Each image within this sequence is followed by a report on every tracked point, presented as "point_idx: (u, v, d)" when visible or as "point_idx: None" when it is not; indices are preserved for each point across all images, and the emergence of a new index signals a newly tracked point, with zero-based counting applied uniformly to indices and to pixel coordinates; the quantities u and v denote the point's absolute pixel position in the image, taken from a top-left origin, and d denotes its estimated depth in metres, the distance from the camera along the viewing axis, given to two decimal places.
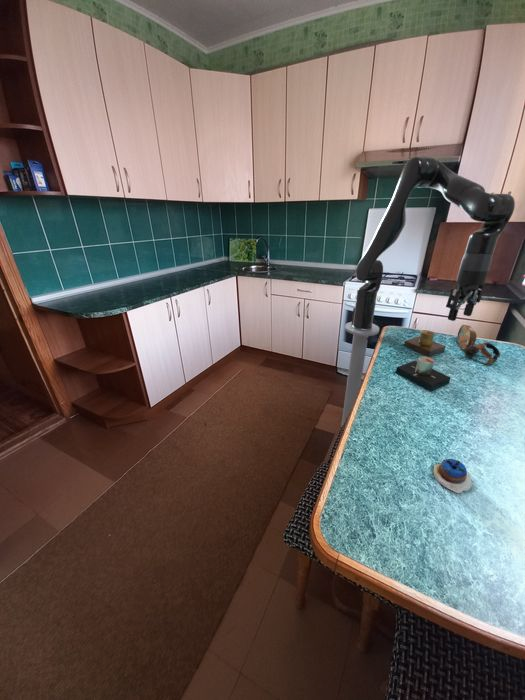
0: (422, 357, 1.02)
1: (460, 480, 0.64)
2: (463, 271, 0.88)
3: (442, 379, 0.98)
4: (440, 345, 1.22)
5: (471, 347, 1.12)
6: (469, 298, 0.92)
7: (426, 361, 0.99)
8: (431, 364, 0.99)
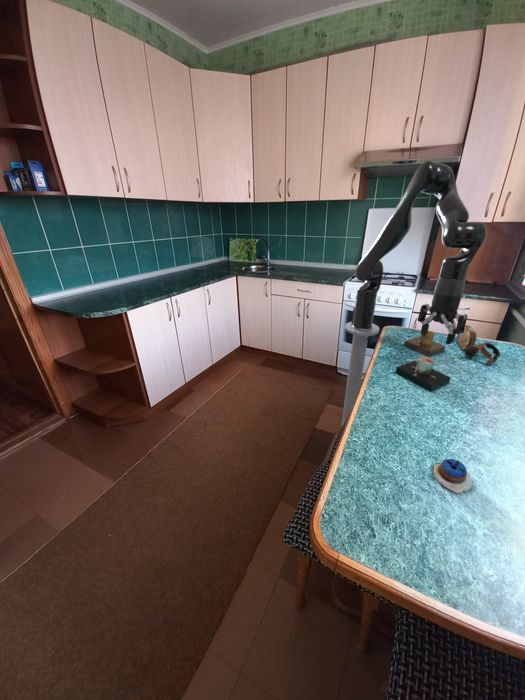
0: (422, 357, 1.02)
1: (460, 480, 0.64)
2: None
3: (442, 379, 0.98)
4: (440, 345, 1.22)
5: (471, 347, 1.12)
6: (439, 321, 0.94)
7: (426, 361, 0.99)
8: (431, 364, 0.99)
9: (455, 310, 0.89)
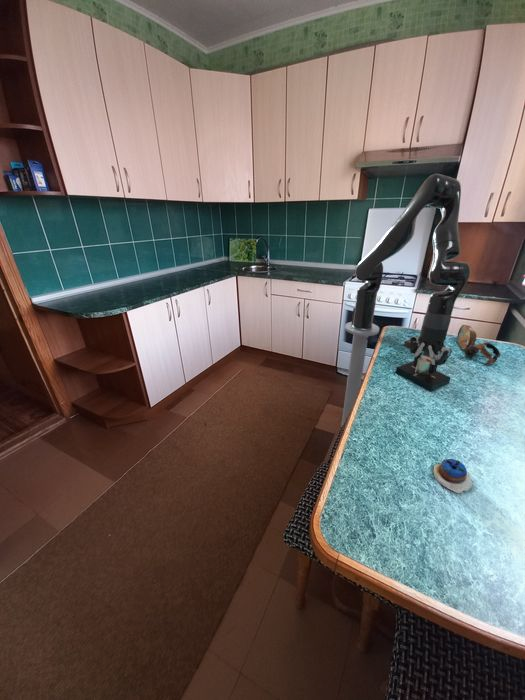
0: (422, 357, 1.02)
1: (460, 480, 0.64)
2: None
3: (442, 379, 0.98)
4: None
5: (471, 347, 1.12)
6: (427, 351, 0.98)
7: (426, 361, 0.99)
8: None
9: (442, 342, 0.94)
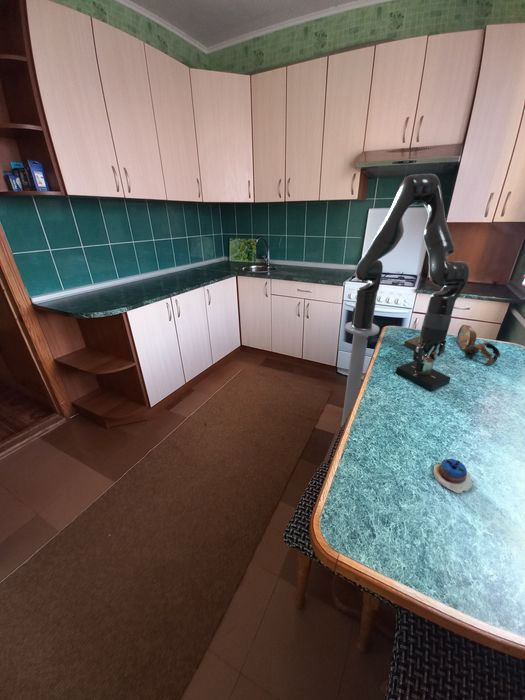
0: None
1: (460, 480, 0.64)
2: (425, 328, 0.94)
3: (442, 379, 0.98)
4: None
5: (471, 347, 1.12)
6: (432, 351, 0.98)
7: (431, 360, 1.00)
8: None
9: None
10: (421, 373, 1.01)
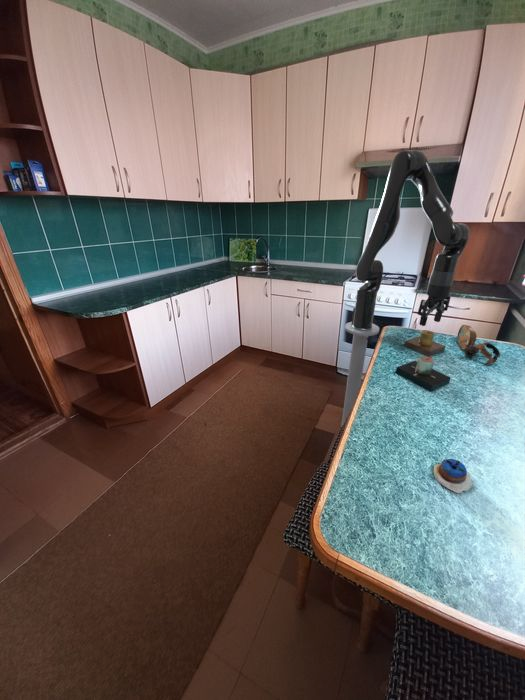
0: (422, 360, 1.00)
1: (460, 480, 0.64)
2: (431, 285, 1.07)
3: (442, 379, 0.98)
4: (440, 345, 1.22)
5: (471, 347, 1.12)
6: (437, 307, 1.10)
7: (431, 360, 1.00)
8: None
9: None
10: (421, 373, 1.01)
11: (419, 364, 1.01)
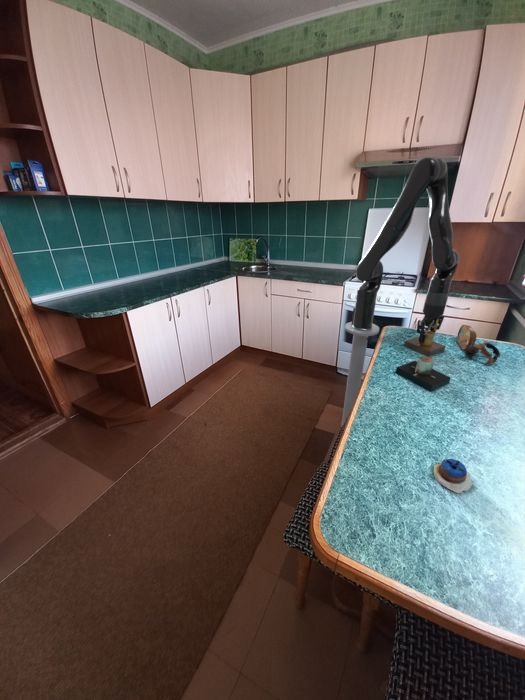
0: (422, 360, 1.00)
1: (460, 480, 0.64)
2: (427, 305, 1.15)
3: (442, 379, 0.98)
4: (440, 345, 1.22)
5: (471, 347, 1.12)
6: (432, 325, 1.19)
7: (431, 360, 1.00)
8: None
9: None
10: (421, 373, 1.01)
11: (419, 364, 1.01)
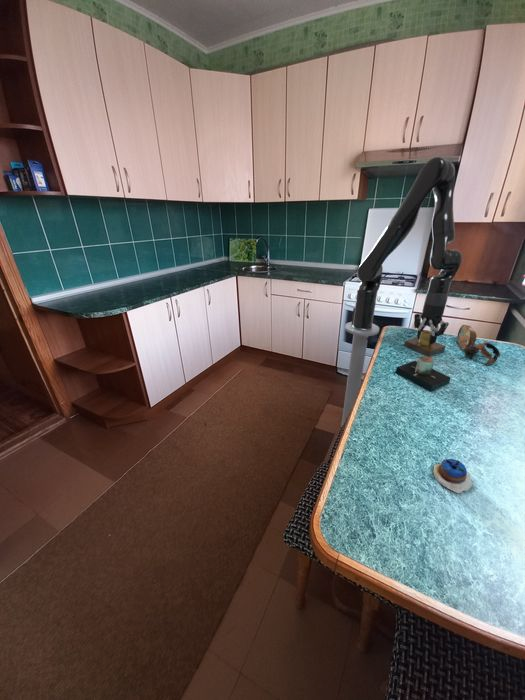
0: (422, 360, 1.00)
1: (460, 480, 0.64)
2: None
3: (442, 379, 0.98)
4: (440, 345, 1.22)
5: (471, 347, 1.12)
6: (428, 325, 1.19)
7: (431, 360, 1.00)
8: None
9: (440, 317, 1.15)
10: (421, 373, 1.01)
11: (419, 364, 1.01)
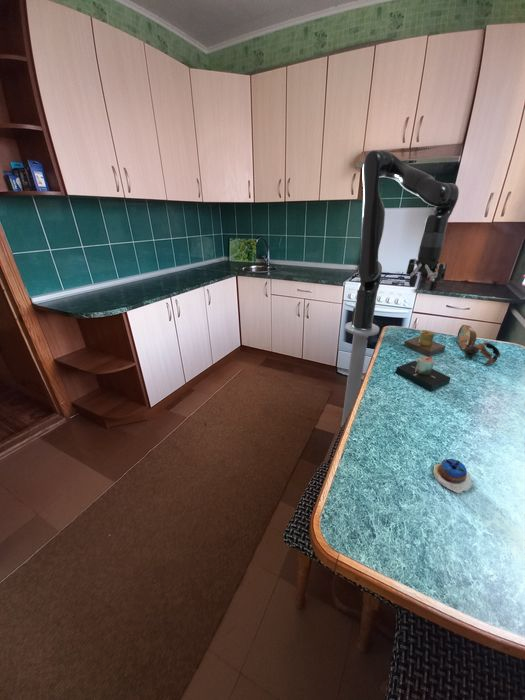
0: (422, 360, 1.00)
1: (460, 480, 0.64)
2: None
3: (442, 379, 0.98)
4: (440, 345, 1.22)
5: (471, 347, 1.12)
6: (424, 271, 1.11)
7: (431, 360, 1.00)
8: None
9: (437, 260, 1.06)
10: (421, 373, 1.01)
11: (419, 364, 1.01)
